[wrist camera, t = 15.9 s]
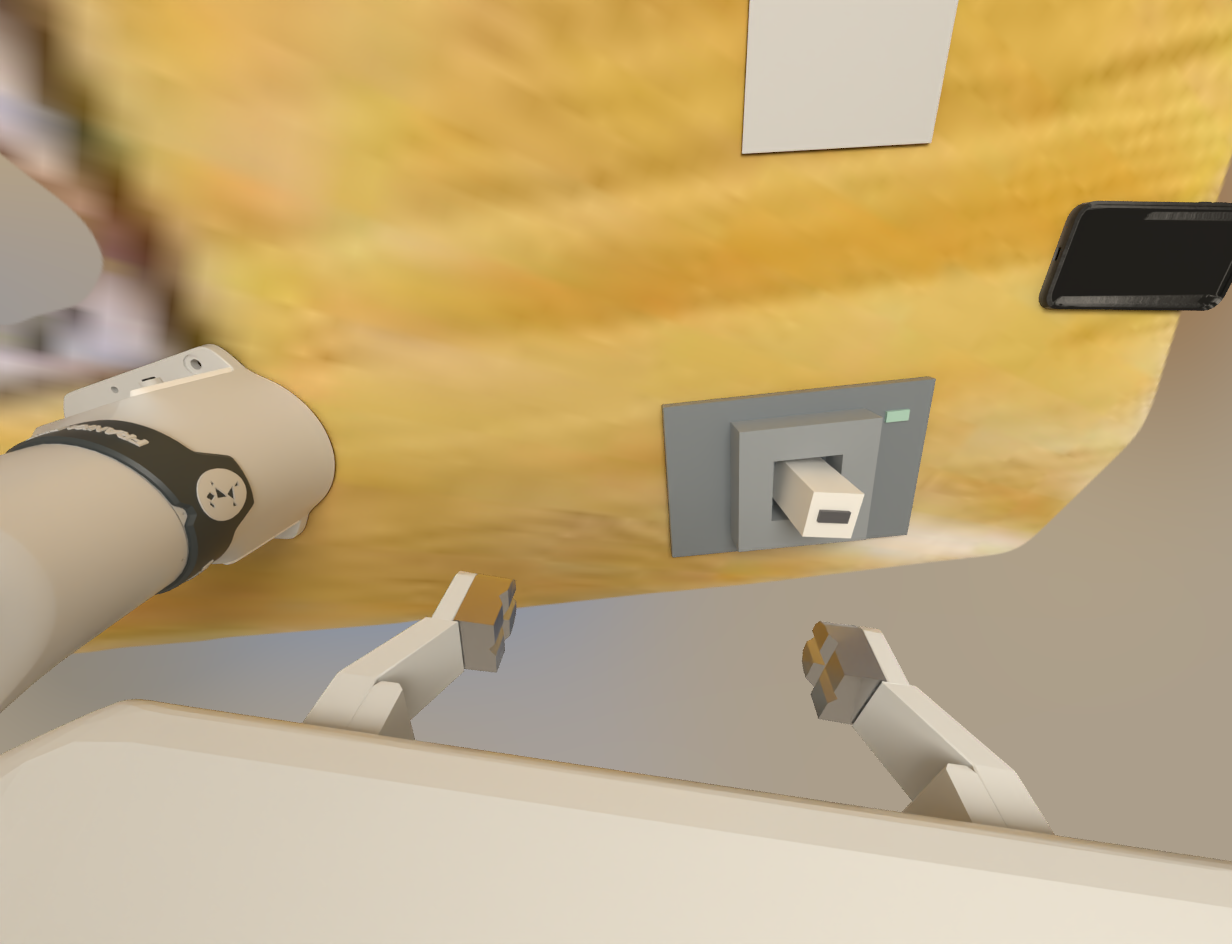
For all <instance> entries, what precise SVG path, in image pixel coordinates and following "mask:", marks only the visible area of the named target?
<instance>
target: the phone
mask: <svg viewBox="0 0 1232 944" xmlns="http://www.w3.org/2000/svg"><path fill="white" fill-rule="evenodd" d="M1066 227H1067V228H1066ZM1060 247H1061V250H1060V253H1059V255H1058V258H1057V260H1056V261H1055V258H1056V256H1057V253H1058V250H1059V248H1060ZM1231 283H1232V203H1222V202H1215V203H1212V202H1198V203H1192V202H1132V201H1094V202H1088V203H1082V204H1080V205H1078V206H1077V207H1075V208H1074V209H1073V210H1072V211H1071V213H1070V214H1069V216H1068V218H1067V220H1066V223H1065V225H1064V228H1063V231H1062V234H1061V236H1060V239H1059V242H1058V245H1057V247H1056V250H1055V253H1054V256H1053V258H1052V261H1051V264H1050V267H1049V269H1048V272H1047V275H1046V278H1045V280H1044V283H1043V286H1042V289H1041V291H1040V294H1039V303H1040V305H1041V306H1042V307H1044V308H1051V309H1112V310H1197V311H1204V310H1209V309H1211V308H1213V307H1215V306H1216V305H1218V304H1219V303H1220V302H1221V301H1222V299H1223V298H1224V296H1225V294H1226V292H1227V290H1228V288H1229V286H1230V285H1231Z"/></svg>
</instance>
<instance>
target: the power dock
mask: <svg viewBox="0 0 1232 944" xmlns="http://www.w3.org/2000/svg"><path fill="white" fill-rule="evenodd" d="M935 380H936V379H935V378H931V377H919V378H910V379H900V380H891V381H881V382H872V383H862V384H853V385H844V386H834V387H825V388H815V389H806V390H796V391H787V392H777V393H768V394H759V395H749V396H740V397H730V398H721V399H711V400H702V401H693V402H683V403H674V404H664V405H662V413H663V429H664V444H665V460H666V476H667V491H668V507H669V522H670V538H671V552H672V557H682V556H692V555H702V554H713V553H723V552H733V551H738V552H742V551H752V550H763V549H773V548H783V547H794V546H804V545H814V544H825V543H835V542H846V541H856V540H866V539H868V538H878V537H888V536H899V535H907V532H908V527H909V521H910V516H911V510H912V505H913V499H914V494H915V489H916V483H917V478H918V472H919V467H920V461H921V456H922V451H923V445H924V440H925V434H926V429H927V423H928V418H929V412H930V407H931V402H932V396H933V391H934V385H935ZM814 457H821V458H822V459H823V460H824V461H825V462H827V463H828V464H829V465H830V466H831V467H833V468H834V469H835V470H836V471H837V472H839V473H840V474H841V475H842V476H843V477H845V478H846V479H847V480H848V481H849V482H851V483H852V484H853V485H854V486H855V487H857V488H858V489H859V490H860V491H861V492H863V493H864V498H863V501H862V504H861V507H860V511H859V514H858V517H857V520H856V523H855V527H854V530H853V533H852V536H851V538H827V537H802V535H801V534H800V533H799V531H798V530H797V529H796V528H795V526H794V525H793V524H792V522H791V521H790V520H789V518H788V517H787V516H786V514H785V513H784V512H783V510H782V509H781V508H780V506H779V505H778V504H777V502H776V501H775V500H774V499H773V497H772V494H773V473H774V468H775V464H776V461H784V460H794V459H804V458H814Z"/></svg>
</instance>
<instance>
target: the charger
mask: <svg viewBox="0 0 1232 944" xmlns="http://www.w3.org/2000/svg"><path fill="white" fill-rule="evenodd" d="M772 497H773V499H774V500H775V501H776V502H777V504H778V505H779V506H780V508H781V509H782V510H783V512H784V513H785V514H786V516H787V517H788V518H789V520H790V521H791V522H792V524H793V525H794V526H795V528H796V529H797V530H798V531H799V533H800V534H801V535H802V537H827V538H851V536H852V533H853V530H854V527H855V523H856V520H857V517H858V514H859V511H860V507H861V504H862V501H863V498H864V493H863V492H861V491H860V490H859V489H858V488H857V487H855V486H854V485H853V484H852V483H851V482H849V481H848V480H847V479H846V478H845V477H843V476H842V475H841V474H840V473H839V472H837V471H836V470H835V469H834V468H833V467H831V466H830V465H829V464H828V463H827V462H825V461H824V460H823V459H822V458H821V457H814V458H804V459H794V460H784V461H776V464H775V468H774V473H773V494H772Z"/></svg>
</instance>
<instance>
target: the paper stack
mask: <svg viewBox="0 0 1232 944" xmlns="http://www.w3.org/2000/svg"><path fill="white" fill-rule="evenodd" d="M957 4H958V0H750V4H749V24H748V44H747V64H746V83H745V103H744V123H743V143H742V154H747V153H765V152H782V151H799V150H816V149H833V148H851V147H868V146H885V145H902V144H919V143H931V141H932V136H933V131H934V125H935V120H936V115H937V110H938V104H939V99H940V94H941V89H942V83H943V78H944V73H945V68H946V62H947V57H948V52H949V47H950V41H951V36H952V31H953V25H954V20H955V15H956V10H957Z"/></svg>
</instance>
